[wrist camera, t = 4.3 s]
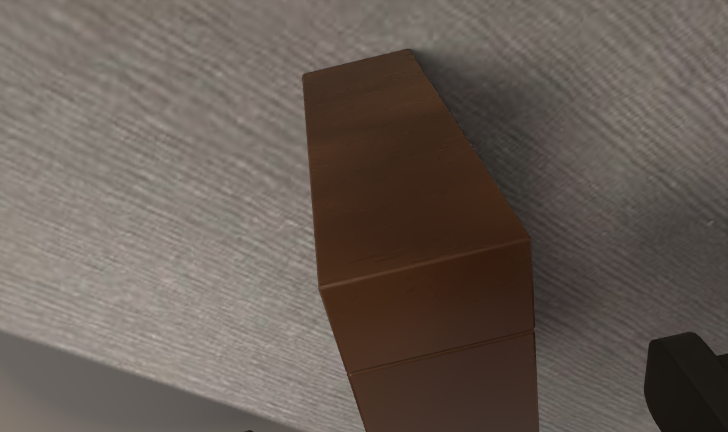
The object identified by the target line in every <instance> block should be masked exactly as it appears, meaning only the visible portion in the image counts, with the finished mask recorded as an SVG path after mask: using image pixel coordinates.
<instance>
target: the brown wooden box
mask: <svg viewBox="0 0 728 432" xmlns="http://www.w3.org/2000/svg"><path fill="white" fill-rule="evenodd" d="M302 81H303V94H304V107H305V120H306V133H307V146H308V159H309V172H310V185H311V198H312V211H313V224H314V237H315V250H316V263H317V276H318V289H319V292H320V295H321V298H322V301H323V304H324V307H325V310H326V313H327V316H328V319H329V322H330V325H331V328H332V331H333V334H334V337H335V340H336V343H337V346H338V349H339V352H340V355H341V358H342V361H343V364H344V367H345V370H346V372H347V376H348V379H349V382H350V385H351V388H352V391H353V394H354V397H355V400H356V403H357V406H358V409H359V412H360V415H361V418H362V421H363V424H364V427H365V430H366V432H539V413H538V390H537V368H536V345H535V330H534V328H535V313H534V291H533V268H532V245H531V237H530V236H529V234H528V233H527V231H526V230H525V228H524V227H523V225H522V223H521V222H520V220H519V219H518V217H517V216H516V214H515V213H514V211H513V209H512V208H511V206H510V205H509V203H508V202H507V200H506V199H505V197H504V196H503V194H502V192H501V191H500V189H499V188H498V186H497V185H496V183H495V182H494V180H493V178H492V177H491V175H490V174H489V172H488V171H487V169H486V168H485V166H484V165H483V163H482V161H481V160H480V158H479V157H478V155H477V154H476V152H475V151H474V149H473V147H472V146H471V144H470V143H469V141H468V140H467V138H466V137H465V135H464V134H463V132H462V130H461V129H460V127H459V126H458V124H457V123H456V121H455V120H454V118H453V116H452V115H451V113H450V112H449V110H448V109H447V107H446V106H445V104H444V103H443V101H442V99H441V98H440V96H439V95H438V93H437V92H436V90H435V89H434V87H433V85H432V84H431V82H430V81H429V79H428V78H427V76H426V75H425V73H424V72H423V70H422V68H421V67H420V65H419V64H418V62H417V61H416V59H415V58H414V56H413V54H412V53H411V51H410V50H409V49H406V50H402V51H397V52H393V53H389V54H385V55H381V56H377V57H373V58H368V59H364V60H360V61H356V62H352V63H348V64H344V65H340V66H335V67H331V68H327V69H323V70H319V71H315V72H311V73H306V74H303V75H302Z"/></svg>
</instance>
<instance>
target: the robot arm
mask: <svg viewBox="0 0 728 432" xmlns="http://www.w3.org/2000/svg"><path fill="white" fill-rule="evenodd" d="M644 394H645V399H646V403H647V406H648V409H649V411H650V413H651V415H652V417H653V419H654V421H655V422H656V424H657V425H658V427H659V429H660V430H661V432H728V354H723V355H719V356H716V355H715V354H714V352H713V351H712V350H711V349H710V348H709V347H708V345H707V344H706V343H705V342H704V341H703V340H702V338H701V337H700V336H698V335H697V334H696V333H694V332H686V333H681V334H677V335H672V336H668V337H664V338H659V339H655V340H652V341H651V342H650V344H649V349H648V358H647V366H646V375H645V383H644ZM245 432H253V431H251V430H249V431H245Z"/></svg>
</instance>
